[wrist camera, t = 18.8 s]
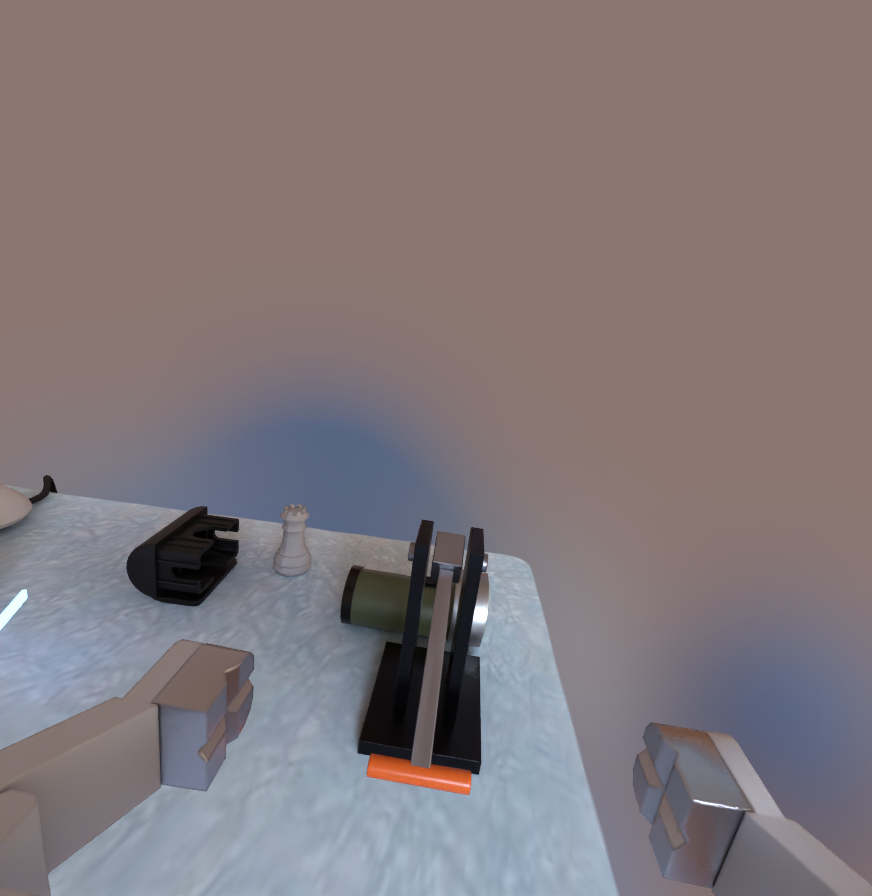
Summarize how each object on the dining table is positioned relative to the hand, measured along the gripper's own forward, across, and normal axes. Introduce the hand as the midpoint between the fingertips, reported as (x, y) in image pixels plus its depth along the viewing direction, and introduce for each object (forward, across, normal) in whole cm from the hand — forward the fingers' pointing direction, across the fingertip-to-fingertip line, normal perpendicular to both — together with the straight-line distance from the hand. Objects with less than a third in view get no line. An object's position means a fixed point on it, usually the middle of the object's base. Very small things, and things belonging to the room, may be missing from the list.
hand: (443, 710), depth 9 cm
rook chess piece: (+41, +18, +24) cm, 51 cm away
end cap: (+36, +28, +24) cm, 51 cm away
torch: (+34, +2, +24) cm, 41 cm away
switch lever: (+19, 0, +14) cm, 23 cm away
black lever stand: (+24, 0, +24) cm, 34 cm away
